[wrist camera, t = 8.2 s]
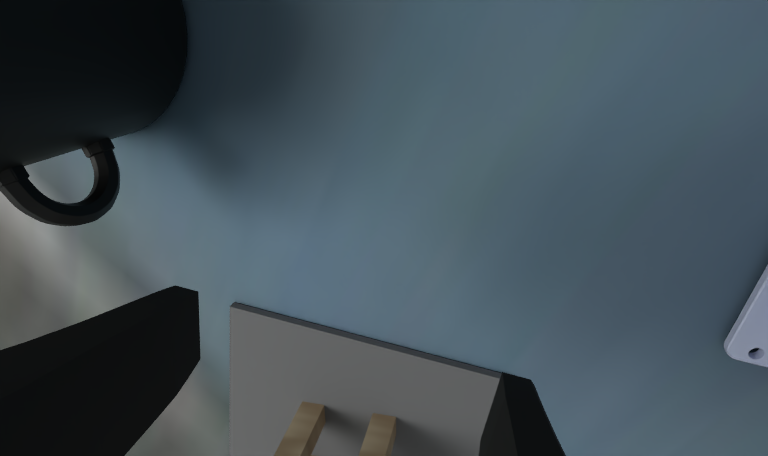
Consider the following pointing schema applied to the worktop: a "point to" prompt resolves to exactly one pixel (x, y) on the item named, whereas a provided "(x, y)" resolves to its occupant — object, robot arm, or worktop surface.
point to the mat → (348, 389)
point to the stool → (310, 423)
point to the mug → (81, 90)
